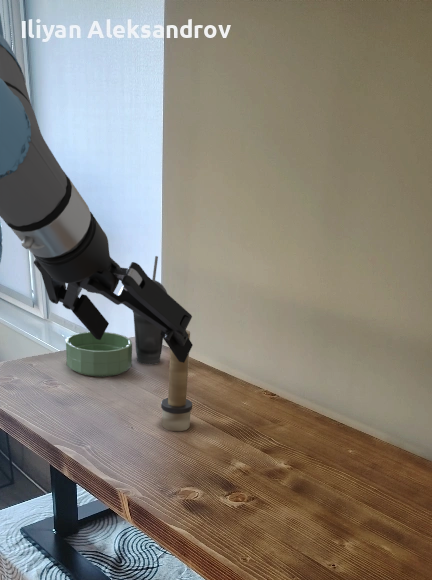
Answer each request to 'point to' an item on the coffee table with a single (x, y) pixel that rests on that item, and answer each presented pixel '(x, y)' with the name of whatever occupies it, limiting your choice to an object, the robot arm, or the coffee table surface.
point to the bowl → (99, 354)
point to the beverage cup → (148, 334)
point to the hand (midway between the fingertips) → (143, 342)
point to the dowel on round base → (177, 396)
